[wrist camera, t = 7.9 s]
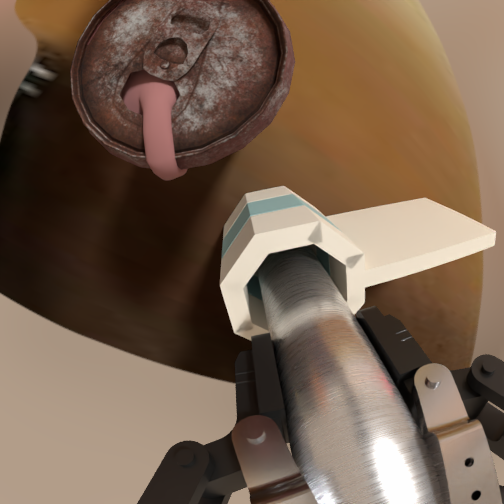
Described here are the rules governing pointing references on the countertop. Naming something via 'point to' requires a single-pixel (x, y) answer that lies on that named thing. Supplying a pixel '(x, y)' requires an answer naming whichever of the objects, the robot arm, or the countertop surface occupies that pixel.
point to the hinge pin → (339, 393)
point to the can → (181, 79)
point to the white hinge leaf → (344, 247)
